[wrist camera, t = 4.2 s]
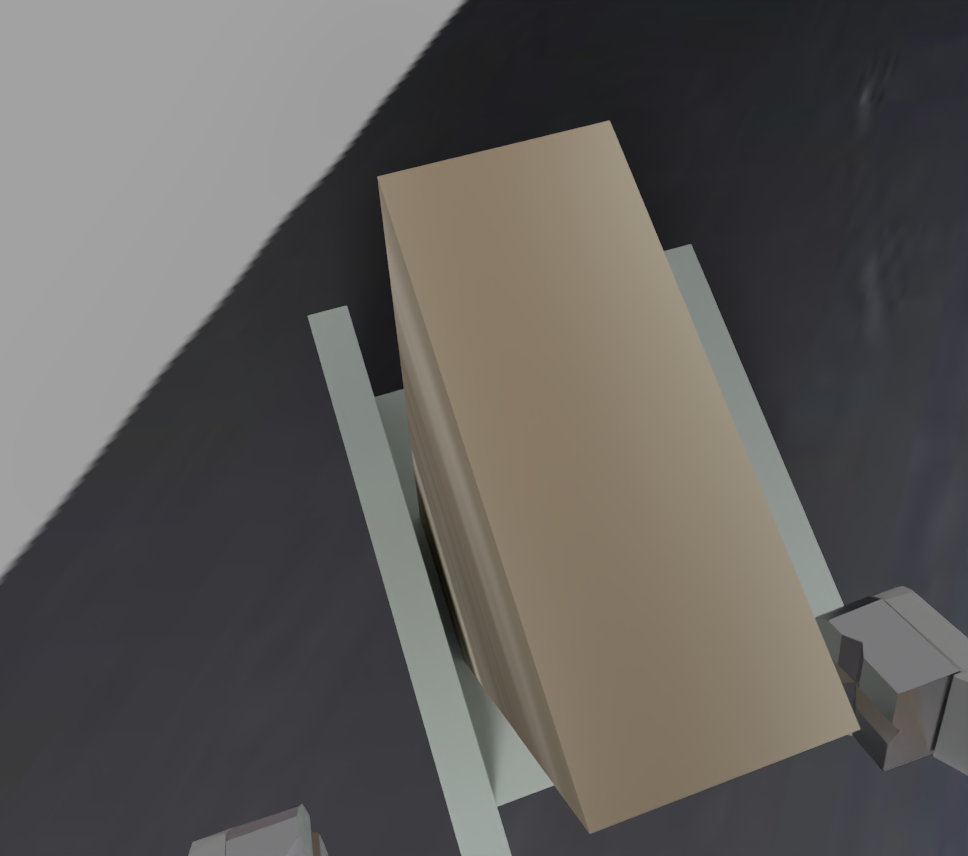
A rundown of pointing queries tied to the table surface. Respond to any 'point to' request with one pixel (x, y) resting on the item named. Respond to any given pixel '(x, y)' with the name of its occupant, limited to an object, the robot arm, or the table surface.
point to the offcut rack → (417, 590)
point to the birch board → (592, 484)
